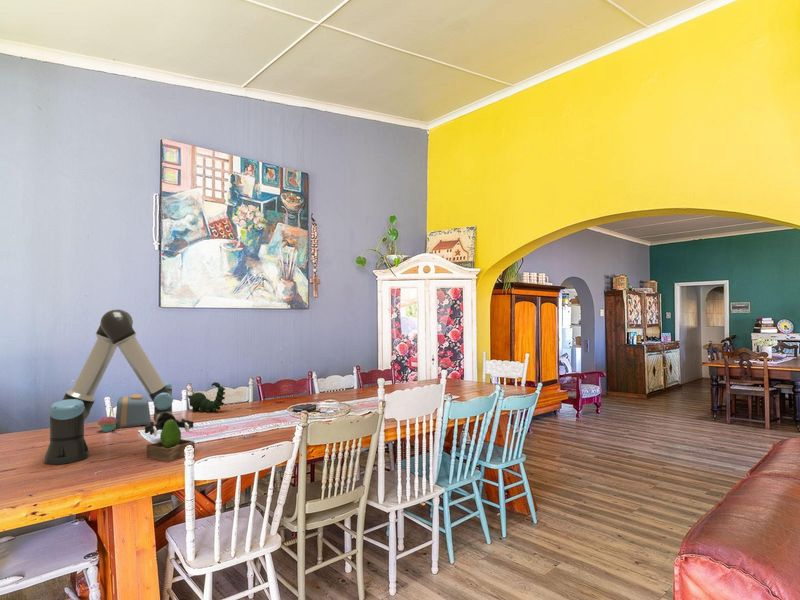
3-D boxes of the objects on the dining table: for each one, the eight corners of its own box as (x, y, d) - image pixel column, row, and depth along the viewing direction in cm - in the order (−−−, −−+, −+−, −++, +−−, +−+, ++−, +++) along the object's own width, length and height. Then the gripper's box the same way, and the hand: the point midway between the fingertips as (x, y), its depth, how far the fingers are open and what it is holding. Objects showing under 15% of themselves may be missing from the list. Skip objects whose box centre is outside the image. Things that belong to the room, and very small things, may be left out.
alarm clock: (116, 423, 268) (116, 393, 268) (150, 419, 276) (150, 390, 276) (115, 429, 254) (115, 398, 254) (150, 425, 261) (150, 395, 262)
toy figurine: (226, 413, 298) (191, 407, 304) (228, 382, 297) (193, 377, 304) (216, 417, 289) (180, 411, 295) (219, 384, 288) (183, 379, 295)
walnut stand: (167, 461, 199) (167, 449, 199) (146, 457, 205) (146, 445, 205) (194, 453, 210) (194, 441, 210) (174, 449, 217) (174, 437, 217)
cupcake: (121, 428, 254) (121, 405, 255) (109, 433, 246) (110, 408, 246) (105, 428, 255) (105, 405, 255) (93, 432, 247) (93, 408, 247)
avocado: (162, 452, 202) (162, 422, 203) (158, 447, 209) (158, 419, 209) (183, 448, 207) (183, 419, 207) (178, 444, 213) (178, 416, 214)
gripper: (194, 425, 229) (202, 436, 211) (135, 432, 217) (139, 444, 198) (194, 409, 230) (202, 418, 211) (135, 415, 217) (139, 425, 199)
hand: (172, 430), depth 205 cm, fingers open, 11 cm apart
